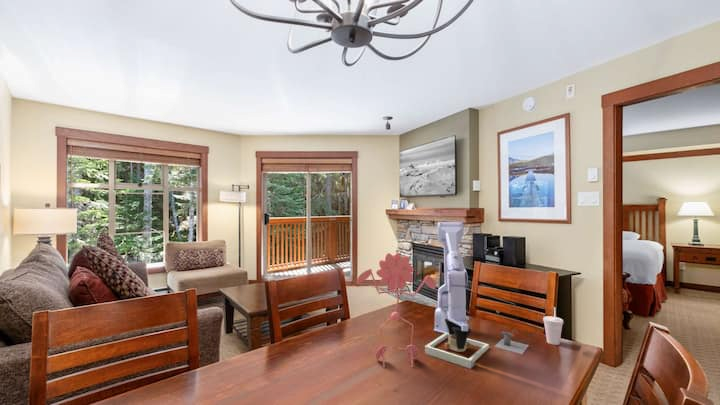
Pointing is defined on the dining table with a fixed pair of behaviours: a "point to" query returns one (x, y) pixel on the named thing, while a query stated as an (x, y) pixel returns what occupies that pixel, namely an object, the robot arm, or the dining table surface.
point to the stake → (511, 344)
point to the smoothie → (553, 328)
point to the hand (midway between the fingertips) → (457, 344)
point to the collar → (453, 346)
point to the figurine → (395, 276)
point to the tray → (453, 357)
